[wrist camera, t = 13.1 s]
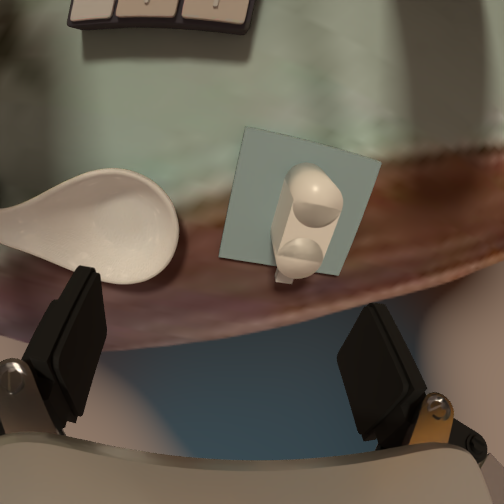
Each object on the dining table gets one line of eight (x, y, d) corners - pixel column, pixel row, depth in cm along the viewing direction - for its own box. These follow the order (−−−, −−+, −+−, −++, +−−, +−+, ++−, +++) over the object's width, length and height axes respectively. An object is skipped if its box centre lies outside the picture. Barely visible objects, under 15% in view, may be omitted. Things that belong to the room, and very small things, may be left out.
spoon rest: (192, 167, 28) (179, 195, 22) (176, 272, 33) (165, 318, 27) (-8, 145, 24) (-50, 166, 18) (0, 237, 30) (-31, 269, 24)
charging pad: (245, 126, 26) (245, 127, 25) (379, 161, 28) (381, 162, 27) (219, 253, 32) (218, 257, 32) (336, 272, 34) (338, 275, 34)
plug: (290, 157, 27) (301, 174, 23) (332, 168, 27) (349, 187, 23) (260, 262, 32) (265, 293, 28) (298, 268, 33) (307, 299, 29)
